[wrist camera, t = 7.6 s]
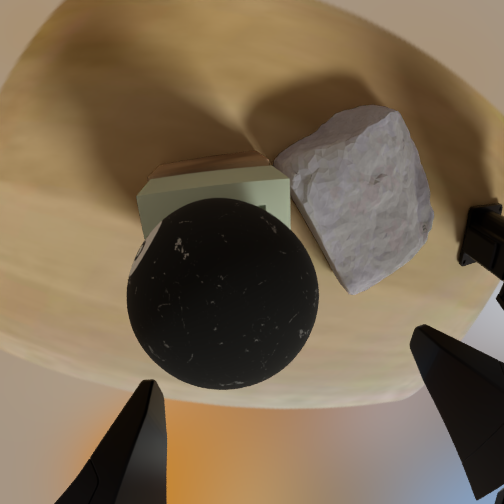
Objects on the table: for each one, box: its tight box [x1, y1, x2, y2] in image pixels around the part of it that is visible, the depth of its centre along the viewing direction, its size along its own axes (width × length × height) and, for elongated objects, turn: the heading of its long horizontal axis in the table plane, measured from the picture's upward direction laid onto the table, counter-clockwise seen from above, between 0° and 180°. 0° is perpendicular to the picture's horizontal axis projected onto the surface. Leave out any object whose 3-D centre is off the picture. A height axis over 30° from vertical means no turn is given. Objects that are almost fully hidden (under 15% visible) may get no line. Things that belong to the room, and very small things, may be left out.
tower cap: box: [136, 165, 291, 239], centre depth 13 cm, size 6×6×3 cm
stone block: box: [273, 105, 434, 295], centre depth 18 cm, size 12×5×10 cm
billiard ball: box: [127, 198, 319, 390], centre depth 9 cm, size 6×6×6 cm
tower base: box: [148, 151, 269, 181], centre depth 17 cm, size 6×6×4 cm
